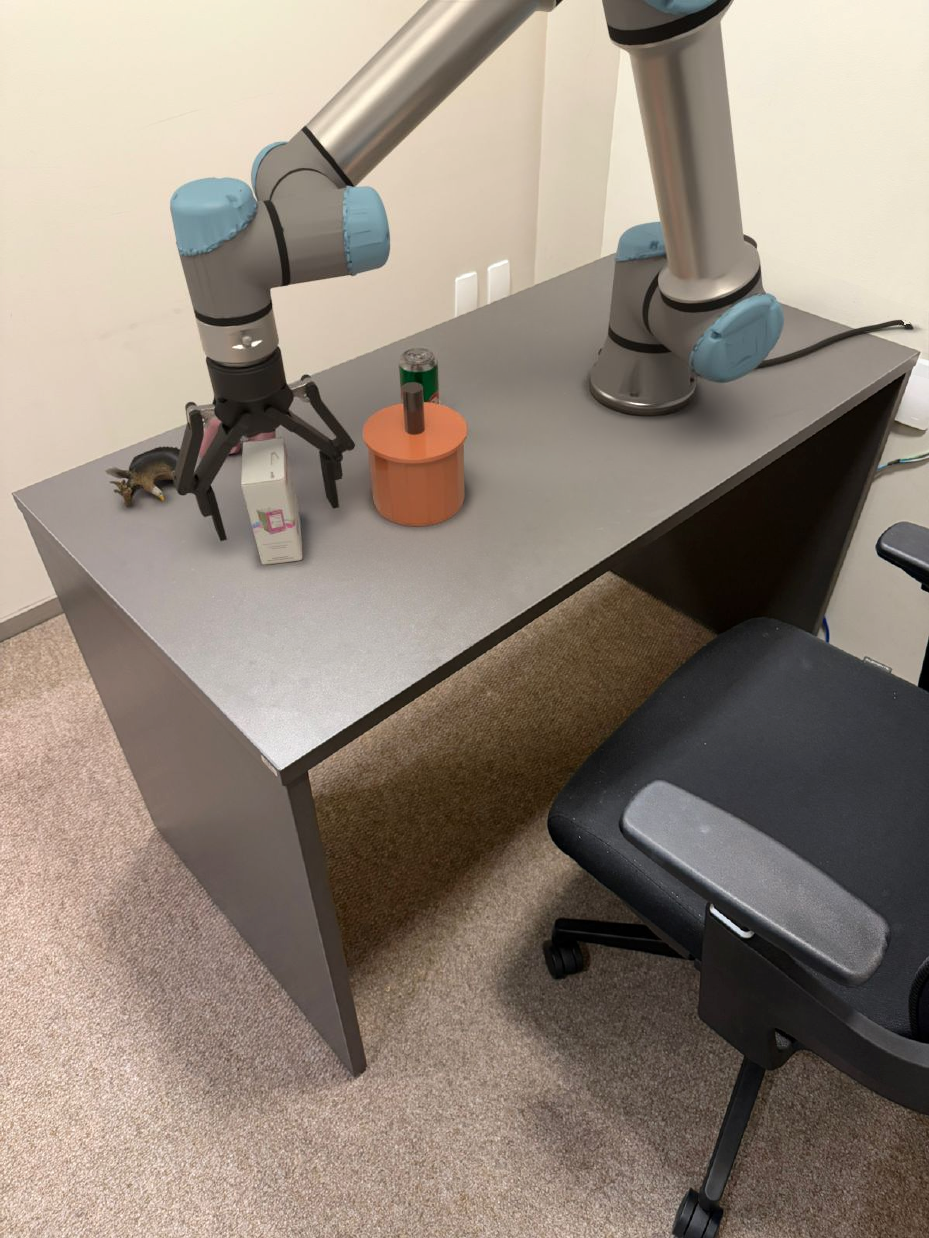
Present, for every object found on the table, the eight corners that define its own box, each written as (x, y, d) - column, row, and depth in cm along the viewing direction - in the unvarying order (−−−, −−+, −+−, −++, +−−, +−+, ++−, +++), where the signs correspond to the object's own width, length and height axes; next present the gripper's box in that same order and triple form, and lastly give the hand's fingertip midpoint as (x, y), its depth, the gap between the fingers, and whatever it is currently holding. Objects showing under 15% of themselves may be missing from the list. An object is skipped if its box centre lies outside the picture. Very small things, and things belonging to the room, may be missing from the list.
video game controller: (278, 470, 116) (281, 417, 114) (260, 474, 112) (264, 420, 110) (214, 457, 119) (216, 405, 116) (195, 461, 114) (196, 407, 112)
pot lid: (441, 401, 108) (439, 352, 104) (485, 451, 100) (485, 400, 96) (348, 425, 105) (342, 375, 100) (386, 478, 97) (381, 427, 92)
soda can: (435, 447, 117) (432, 366, 108) (399, 443, 118) (393, 363, 109) (443, 427, 120) (441, 347, 112) (408, 424, 121) (403, 344, 113)
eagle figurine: (151, 516, 105) (203, 470, 109) (109, 470, 102) (164, 424, 106) (132, 520, 111) (182, 477, 115) (92, 477, 108) (145, 433, 112)
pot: (441, 463, 114) (439, 400, 108) (479, 510, 107) (479, 445, 100) (361, 486, 111) (353, 422, 104) (394, 536, 103) (388, 471, 97)
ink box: (260, 521, 106) (241, 438, 98) (301, 516, 106) (286, 434, 98) (259, 566, 100) (239, 482, 92) (303, 561, 100) (287, 477, 92)
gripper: (122, 396, 80) (178, 567, 95) (371, 339, 88) (387, 506, 103) (109, 361, 85) (165, 529, 100) (346, 310, 92) (365, 473, 107)
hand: (277, 518), depth 101 cm, fingers open, 13 cm apart
